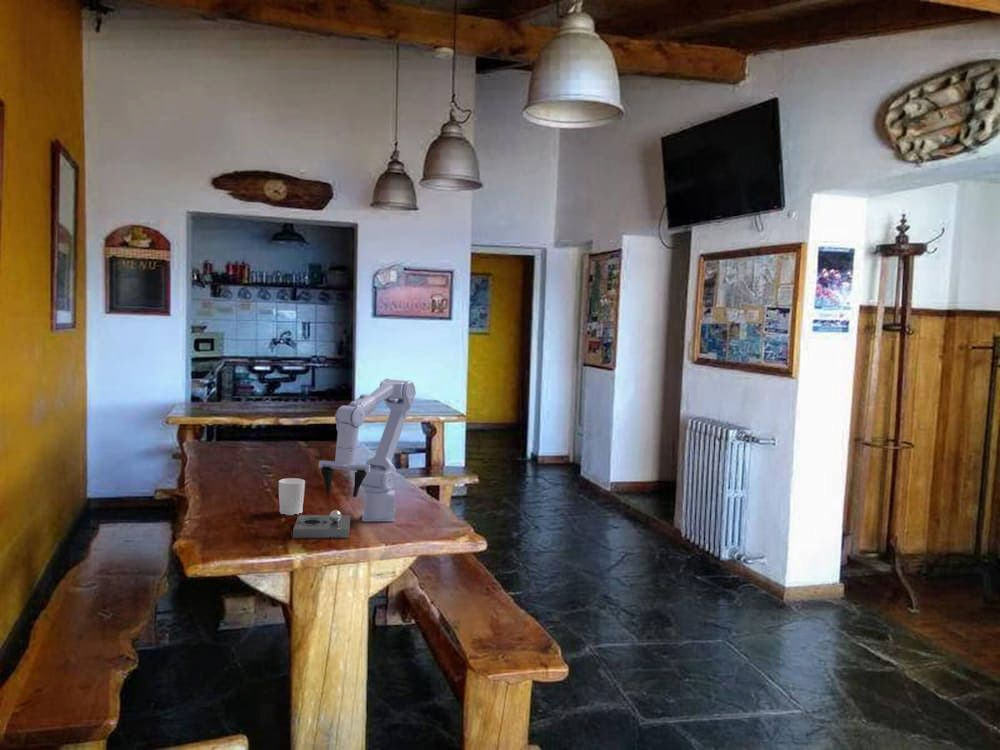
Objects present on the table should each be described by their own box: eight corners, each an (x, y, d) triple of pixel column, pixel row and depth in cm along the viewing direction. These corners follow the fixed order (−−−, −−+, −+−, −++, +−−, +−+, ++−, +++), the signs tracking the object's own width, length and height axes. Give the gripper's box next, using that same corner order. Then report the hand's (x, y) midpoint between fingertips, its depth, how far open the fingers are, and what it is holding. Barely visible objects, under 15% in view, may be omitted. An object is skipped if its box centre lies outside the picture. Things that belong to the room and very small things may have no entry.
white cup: (277, 516, 228) (278, 483, 227) (277, 509, 235) (278, 478, 235) (304, 515, 230) (305, 483, 229) (303, 509, 238) (304, 478, 237)
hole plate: (350, 523, 224) (350, 515, 223) (348, 538, 209) (348, 529, 209) (298, 523, 221) (298, 515, 221) (292, 538, 206) (293, 529, 206)
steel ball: (341, 520, 217) (342, 508, 217) (341, 523, 214) (341, 511, 214) (329, 520, 217) (330, 508, 216) (328, 523, 213) (329, 511, 213)
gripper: (317, 446, 211) (312, 494, 210) (368, 451, 210) (363, 499, 210) (324, 444, 218) (319, 491, 217) (373, 449, 217) (369, 496, 217)
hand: (341, 495), depth 214 cm, fingers open, 7 cm apart
